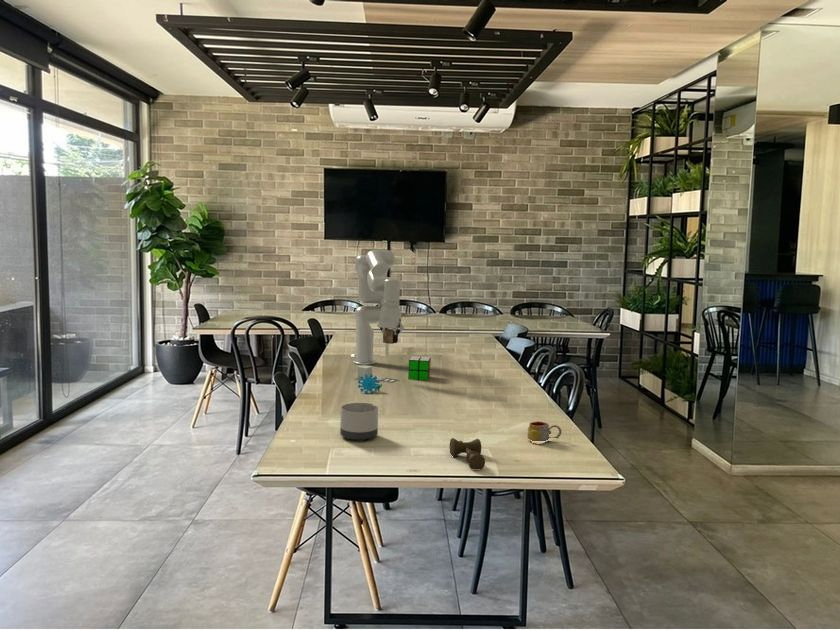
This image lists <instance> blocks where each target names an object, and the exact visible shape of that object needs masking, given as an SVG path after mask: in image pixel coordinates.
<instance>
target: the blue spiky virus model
mask: <svg viewBox="0 0 840 630" xmlns="http://www.w3.org/2000/svg"><path fill="white" fill-rule="evenodd" d="M373 376H374V377H373ZM367 377H368V375H367V374H365V380H363V377H360V379H361V380H362V381H361V380H357V384H358V385H357V389H360V390H359V391H360V393H362V392H364V394H366V393H367V394H368V393H370V394H374V392H377V391H378V392H379V391H380V389H381V388H382V387H383V384H382V383H380V381H379V380H380V379H378V377H377V376H376V375H373V373H372V374H370V377H369V378H367ZM371 377H372V378H371ZM373 389H374V392H373Z"/></svg>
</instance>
